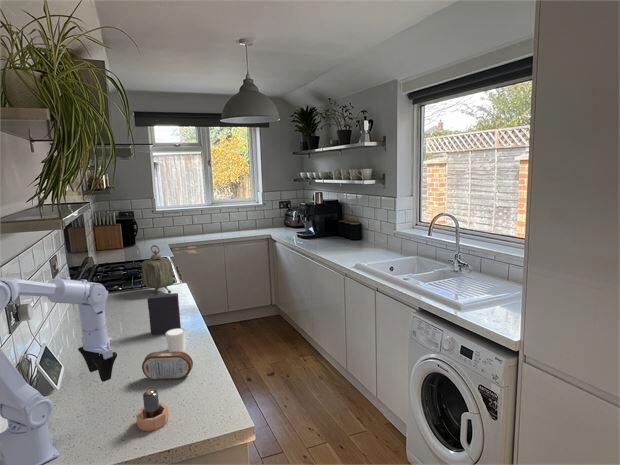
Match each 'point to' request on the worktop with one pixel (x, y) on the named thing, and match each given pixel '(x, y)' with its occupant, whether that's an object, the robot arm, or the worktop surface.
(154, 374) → the tin
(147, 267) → the tabletop clock
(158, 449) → the worktop surface
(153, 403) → the cell
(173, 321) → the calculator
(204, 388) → the worktop surface
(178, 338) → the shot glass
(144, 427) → the cup
